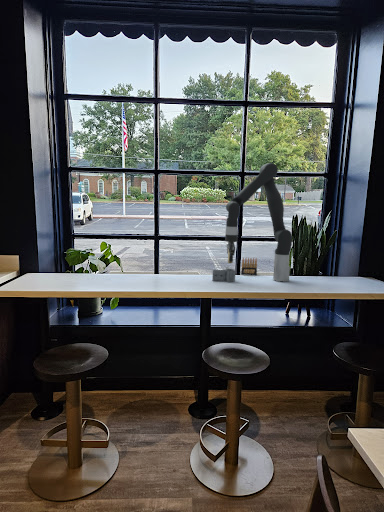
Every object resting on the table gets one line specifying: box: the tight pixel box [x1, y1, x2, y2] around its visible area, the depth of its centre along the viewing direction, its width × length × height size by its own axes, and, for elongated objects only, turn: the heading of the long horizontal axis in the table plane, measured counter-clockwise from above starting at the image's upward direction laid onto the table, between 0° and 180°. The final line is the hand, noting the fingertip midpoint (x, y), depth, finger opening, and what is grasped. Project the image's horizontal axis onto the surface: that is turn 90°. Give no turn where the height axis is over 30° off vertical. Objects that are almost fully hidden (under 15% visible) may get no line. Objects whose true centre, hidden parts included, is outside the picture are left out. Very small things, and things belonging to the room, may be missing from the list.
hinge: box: [212, 266, 236, 283], centre depth 224 cm, size 14×14×7 cm
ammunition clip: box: [240, 257, 258, 276], centre depth 241 cm, size 11×2×12 cm, turn 89°
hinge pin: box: [227, 249, 234, 264], centre depth 219 cm, size 3×3×9 cm
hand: (230, 261), depth 219 cm, fingers closed on hinge pin, 3 cm apart
